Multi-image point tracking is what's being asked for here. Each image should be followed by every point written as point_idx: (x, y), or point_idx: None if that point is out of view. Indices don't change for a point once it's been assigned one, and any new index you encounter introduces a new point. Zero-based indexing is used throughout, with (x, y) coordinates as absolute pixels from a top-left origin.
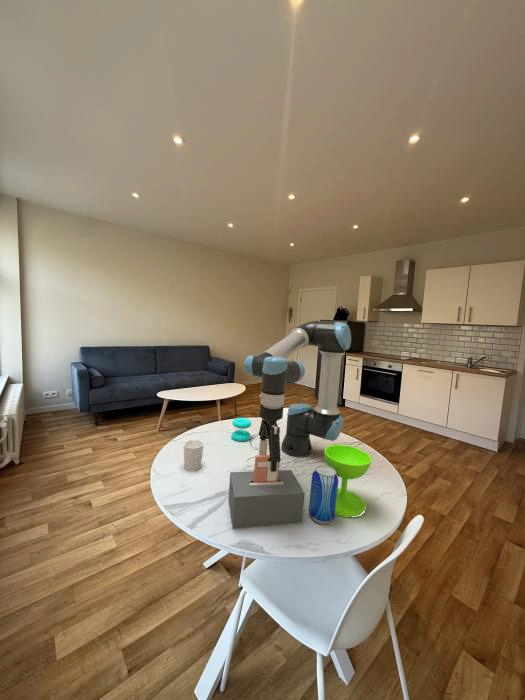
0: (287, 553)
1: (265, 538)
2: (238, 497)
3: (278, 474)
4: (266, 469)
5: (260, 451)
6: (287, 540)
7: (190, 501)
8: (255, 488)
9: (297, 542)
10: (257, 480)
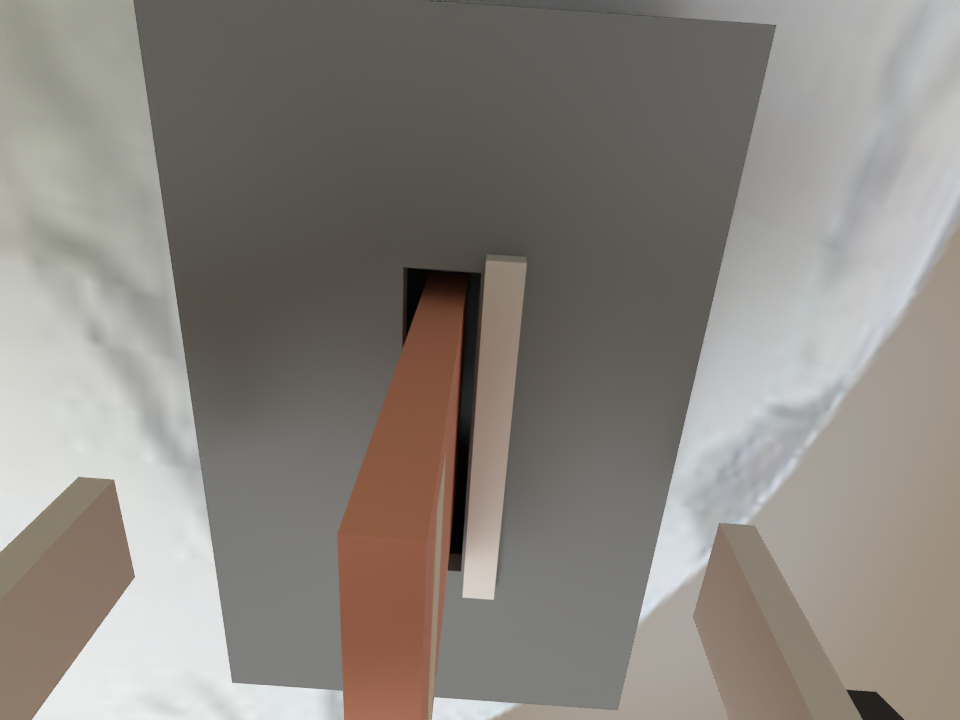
0: (892, 278)
1: (722, 373)
2: (623, 684)
3: (456, 352)
4: (442, 559)
5: (56, 668)
6: (793, 238)
7: None
8: (533, 552)
9: (839, 171)
10: (448, 542)
